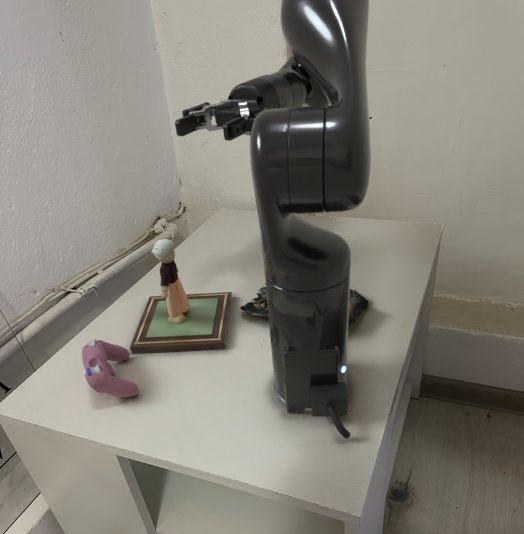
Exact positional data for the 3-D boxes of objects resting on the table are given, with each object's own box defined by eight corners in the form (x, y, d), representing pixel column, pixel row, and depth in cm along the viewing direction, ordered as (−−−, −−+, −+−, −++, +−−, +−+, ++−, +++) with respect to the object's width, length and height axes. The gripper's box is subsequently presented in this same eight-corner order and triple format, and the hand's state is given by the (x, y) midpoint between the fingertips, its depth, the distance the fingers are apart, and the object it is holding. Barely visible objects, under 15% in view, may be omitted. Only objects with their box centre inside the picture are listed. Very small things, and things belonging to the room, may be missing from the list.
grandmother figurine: (191, 325, 74) (175, 249, 66) (166, 328, 74) (146, 253, 66) (191, 299, 80) (176, 226, 72) (168, 302, 80) (150, 230, 72)
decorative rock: (226, 305, 72) (264, 253, 82) (234, 336, 76) (270, 283, 86) (350, 319, 65) (375, 259, 75) (352, 352, 69) (376, 292, 79)
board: (225, 349, 71) (223, 341, 70) (131, 353, 72) (129, 346, 71) (232, 297, 82) (231, 290, 81) (151, 302, 83) (149, 295, 82)
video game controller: (107, 370, 72) (72, 342, 67) (131, 351, 71) (97, 322, 67) (116, 413, 64) (76, 386, 60) (142, 393, 64) (105, 364, 59)
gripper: (222, 77, 79) (157, 99, 69) (299, 78, 73) (240, 103, 62) (228, 126, 84) (167, 154, 73) (301, 131, 77) (246, 163, 67)
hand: (201, 130), depth 68 cm, fingers open, 8 cm apart
